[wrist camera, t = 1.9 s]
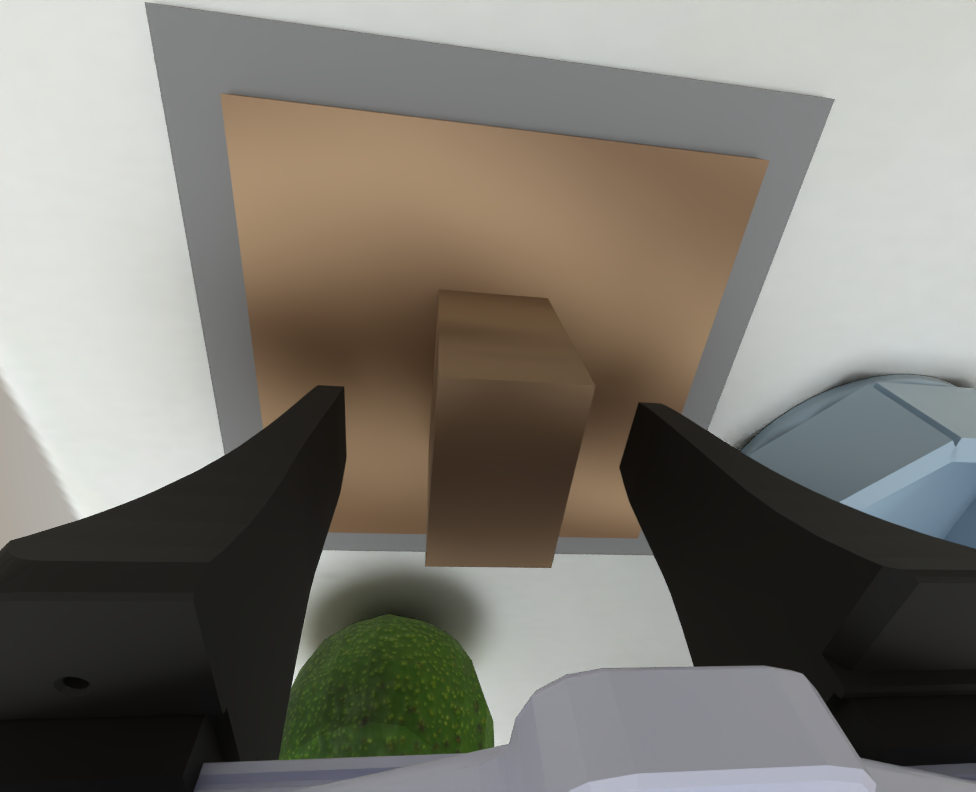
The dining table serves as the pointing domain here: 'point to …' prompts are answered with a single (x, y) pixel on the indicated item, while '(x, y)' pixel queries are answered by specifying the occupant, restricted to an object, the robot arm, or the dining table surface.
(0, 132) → the dining table surface
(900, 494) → the bowl
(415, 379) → the cover board
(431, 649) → the avocado
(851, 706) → the robot arm
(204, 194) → the mat
